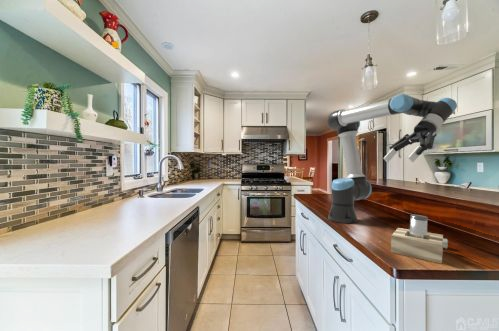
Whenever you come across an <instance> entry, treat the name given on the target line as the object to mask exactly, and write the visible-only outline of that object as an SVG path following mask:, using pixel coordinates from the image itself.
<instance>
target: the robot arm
mask: <svg viewBox="0 0 499 331" xmlns="http://www.w3.org/2000/svg"><path fill="white" fill-rule="evenodd" d="M457 104H458V103H457V102H456V101H455V99H453V98H452V97H451V98H450V97H444V98H443V97H442V98H440V99H439V100H437V101H429V100H424V99H419V98H418V97H417V98H416V97H414V96H411V95H408V94H403V93H400V94H396V95H395V96H393V97H392V98H390V99H389V98H388V99H387V100H386V99H385V100H382V101H378V102H377V101H376V102H374V103H370V104H365V105H362V106H358V107H354V108H351V109H345V108H344V109H339V110H335V111H332V112H331V113H329V115H328V116H327V117H326V125H327V127H328V128H329V129H331V130H332V131H336V133H337V136H338V138H340V141H341V145H342V152H343V153H342V154H343V158H344V164H345V172H346V177H343V178H336V179H333V180H332V183H331V206H330V210H329V213H328V217H327V218H328V220H329V221H330V222H335V223H342V224H354V223H357V222H358V215H357V213H356V210H355V207H354V206H355V201H361V200H366V199H368V198H369V197H370V196H371V194H372V188H373V187H372V184H371V183H370V182H369V181H368V180H367V177H366V175H365V174H364V173H363V170H362V169H363V168H362V164H361V159H360V158H361V157H360V151H359V146H358V140H357V135H358V133H359V131H358V130H359V128H360V127H361V122H363V121H367V120H369V121H370V120H373V119H378V118H383V117H388V116H393V115H394V116H395V115H400V114H404V115H408V116H412V117H413V116H414V117H421V118H422V119H420V120H419V122H418V123H417V124H416V125H415V126H414V127H413V133H411V134H409V133H406V134H404V136H403V137H401V138H400V139H398V140H397V141H396V142H395V143H393V144H392V145H391V146H390V145H389V147H388V148H389V149H390V150H389V151H388V152H387V154H386V155H384V157H383V160H384V161H385V162H386V163H389V162H390V161H391V160H392V159H393V158H394V156H396V154H398V152H399V151H400V150H402V149H404V148H406V147H408V146H409V145H412V144H414V143H415V144H416V143H419V145H417V147H416V148H415V149H414V150H413V151H412V152H411V153H410V154H409V155H408V157H407V159H408V160H409V161H410V162H411V163H414V162H415V161H416V160H418V158H419V157H420V156H421V155H422V154H423V153H424V152H425V151H426V150H431V149H432V148H433V147H434V143H435V142H434V141H435V138H436V137H437V136H438V135H437V133H436V132H437V131H438V130H439V129H440V127H441V126H442V125H443V124H444V123H445V122H446V121H447V120H448V119H449V118H450V116H451V115H453V113H454V112H455V110H456V109H457V107H458V105H457Z"/></svg>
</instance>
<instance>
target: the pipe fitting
mask: <svg viewBox="0 0 499 331" xmlns="http://www.w3.org/2000/svg"><path fill="white" fill-rule="evenodd" d="M448 243H449V240H448V238H444V237H443V250H444V249H445V250H448V247H449V246H448Z"/></svg>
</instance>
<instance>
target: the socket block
mask: <svg viewBox="0 0 499 331" xmlns="http://www.w3.org/2000/svg"><path fill="white" fill-rule="evenodd" d="M390 238H391V240H390V243H391V244H390V253H392V254H398V255H401V256H407V257H411V258H415V259H419V260H424V261H428V262H433V263H436V264H443V254H444V253H443V252H444V248H443V238H444V234H439V233H432V232H429V231H427V239H421V238H415V237H410V228H408V229H407V228H401V227H397V228H396V230H394V232H393V233H392V234H391V236H390Z"/></svg>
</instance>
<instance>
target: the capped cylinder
mask: <svg viewBox="0 0 499 331" xmlns="http://www.w3.org/2000/svg"><path fill="white" fill-rule="evenodd" d="M409 217H410V220H409V230H410V237H415V238H421V239H427V232H428V216H426V215H422V214H421V215H420V214H415V213H414V214H410V216H409Z"/></svg>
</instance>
